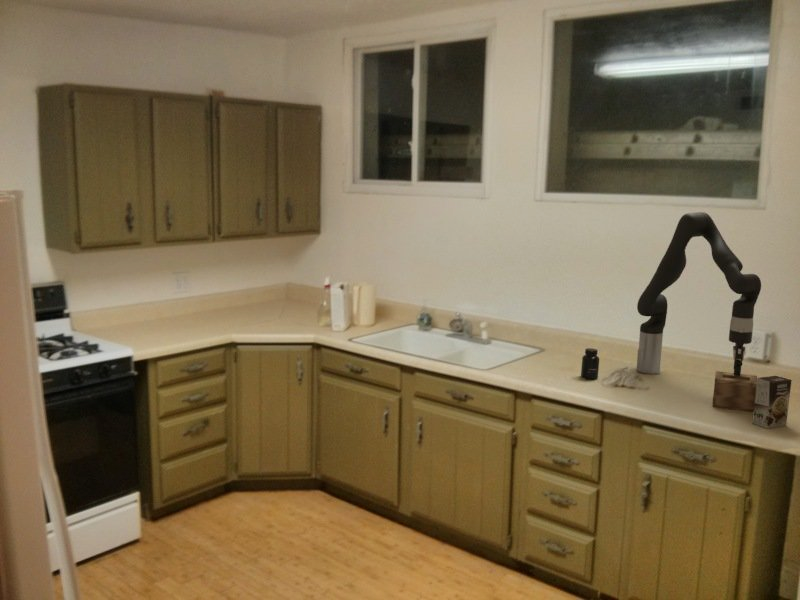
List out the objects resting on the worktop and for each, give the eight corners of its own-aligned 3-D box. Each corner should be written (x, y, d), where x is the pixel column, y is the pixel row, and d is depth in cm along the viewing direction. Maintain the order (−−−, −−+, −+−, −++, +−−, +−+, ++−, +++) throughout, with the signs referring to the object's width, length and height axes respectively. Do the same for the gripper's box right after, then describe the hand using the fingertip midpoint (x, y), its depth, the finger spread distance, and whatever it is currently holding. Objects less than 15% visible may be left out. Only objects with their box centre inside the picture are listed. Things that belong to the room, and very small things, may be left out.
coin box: (712, 406, 266) (715, 379, 264) (713, 397, 276) (715, 371, 275) (755, 412, 260) (758, 384, 258) (754, 402, 271) (757, 375, 269)
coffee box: (767, 429, 243) (773, 382, 240) (751, 423, 249) (756, 377, 246) (787, 425, 247) (792, 379, 244) (770, 419, 252) (775, 374, 250)
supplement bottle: (591, 381, 296) (593, 352, 294) (577, 377, 301) (579, 349, 299) (601, 378, 300) (603, 349, 298) (587, 374, 305) (589, 346, 303)
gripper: (729, 324, 271) (725, 366, 274) (729, 331, 258) (725, 376, 261) (752, 326, 268) (747, 369, 271) (753, 334, 255) (748, 378, 258)
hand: (736, 372), depth 266 cm, fingers open, 8 cm apart
